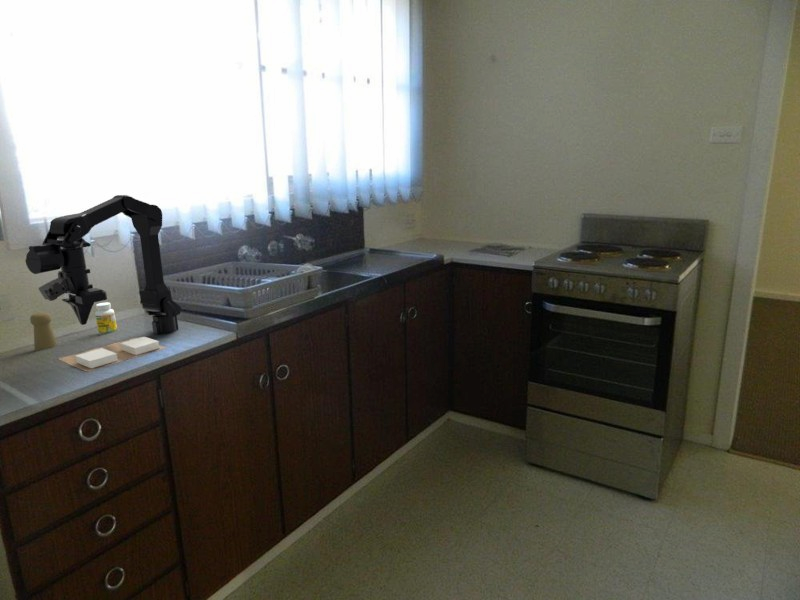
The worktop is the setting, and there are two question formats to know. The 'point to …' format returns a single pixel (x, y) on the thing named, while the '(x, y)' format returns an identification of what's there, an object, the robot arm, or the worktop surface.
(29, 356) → the worktop surface
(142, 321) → the worktop surface
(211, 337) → the worktop surface
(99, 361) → the tile
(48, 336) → the cork
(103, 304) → the supplement bottle
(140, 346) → the tile
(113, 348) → the board
